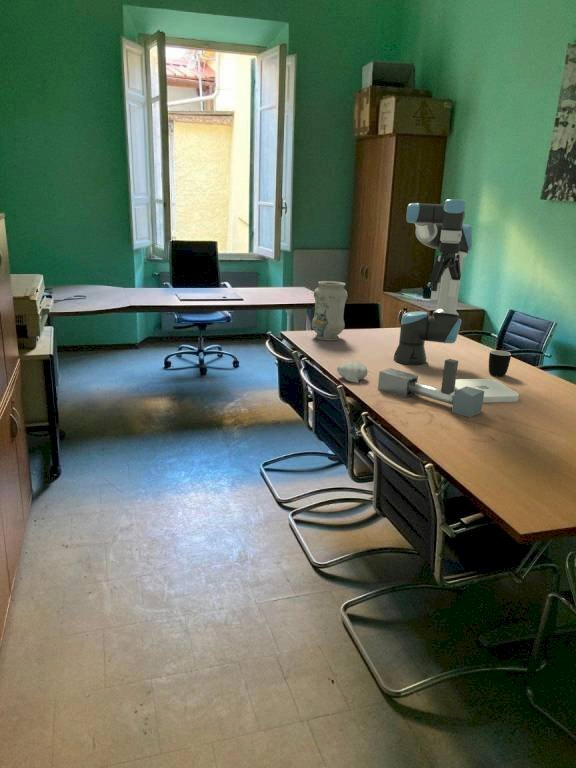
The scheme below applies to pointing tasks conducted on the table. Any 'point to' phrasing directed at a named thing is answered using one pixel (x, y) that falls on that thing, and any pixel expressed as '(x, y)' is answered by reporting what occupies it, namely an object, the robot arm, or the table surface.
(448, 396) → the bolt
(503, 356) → the mug
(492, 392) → the computer
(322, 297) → the vase
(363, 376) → the shell shaped sculpture
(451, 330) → the robot arm
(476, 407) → the grey block
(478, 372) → the table surface
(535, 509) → the table surface
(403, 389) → the sleeve
